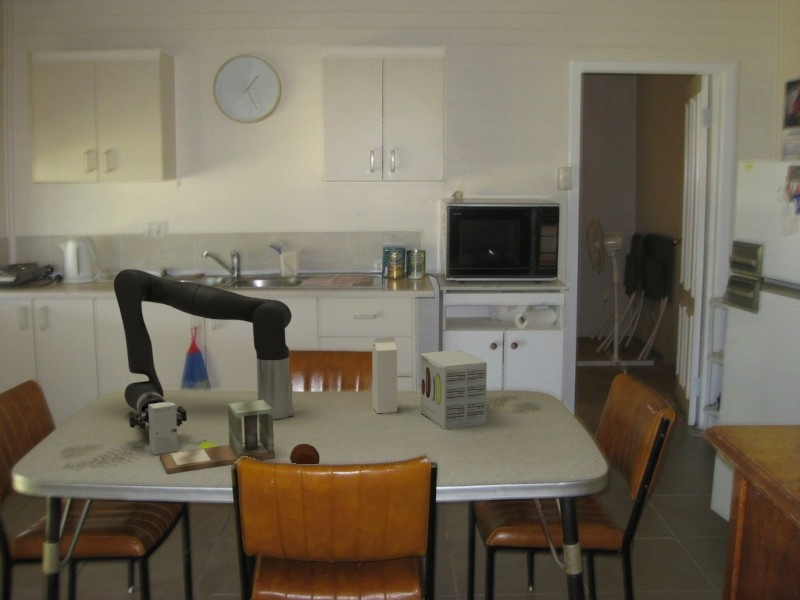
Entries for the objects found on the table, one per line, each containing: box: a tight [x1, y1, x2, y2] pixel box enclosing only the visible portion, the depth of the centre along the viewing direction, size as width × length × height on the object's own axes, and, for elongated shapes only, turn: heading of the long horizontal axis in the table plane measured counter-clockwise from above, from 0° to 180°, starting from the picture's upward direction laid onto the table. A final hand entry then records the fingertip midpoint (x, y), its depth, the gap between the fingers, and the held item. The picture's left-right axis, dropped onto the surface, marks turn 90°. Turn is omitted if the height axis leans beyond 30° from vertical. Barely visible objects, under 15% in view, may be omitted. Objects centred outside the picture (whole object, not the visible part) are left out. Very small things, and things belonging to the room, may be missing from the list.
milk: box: [371, 336, 398, 414], centre depth 242 cm, size 6×6×22 cm
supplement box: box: [420, 349, 488, 430], centre depth 234 cm, size 17×13×18 cm
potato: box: [289, 443, 320, 464], centre depth 195 cm, size 7×9×6 cm
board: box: [159, 399, 276, 475], centre depth 202 cm, size 26×11×12 cm, turn 115°
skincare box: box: [148, 401, 178, 456], centre depth 208 cm, size 6×4×12 cm
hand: (161, 424), depth 209 cm, fingers open, 8 cm apart
